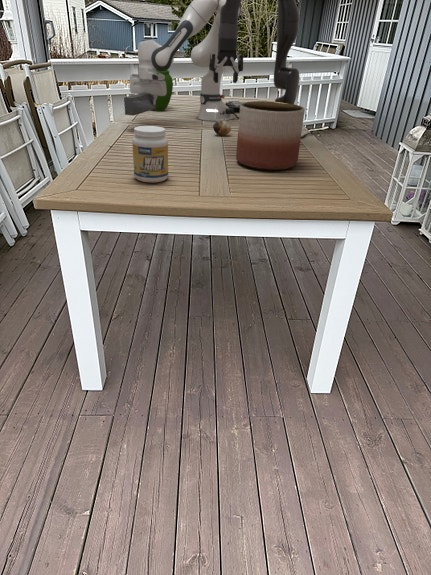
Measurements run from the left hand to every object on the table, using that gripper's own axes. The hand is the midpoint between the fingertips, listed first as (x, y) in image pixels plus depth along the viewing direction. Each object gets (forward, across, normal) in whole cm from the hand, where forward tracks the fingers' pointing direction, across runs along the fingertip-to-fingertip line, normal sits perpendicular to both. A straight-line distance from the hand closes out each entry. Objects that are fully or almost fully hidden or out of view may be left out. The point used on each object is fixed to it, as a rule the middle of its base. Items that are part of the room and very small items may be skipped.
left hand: (148, 103), depth 221 cm
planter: (+11, +76, -47) cm, 90 cm away
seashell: (+11, +44, -5) cm, 45 cm away
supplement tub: (+11, +43, -86) cm, 96 cm away
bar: (+3, 0, -9) cm, 9 cm away
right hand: (-17, +53, -35) cm, 66 cm away
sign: (+11, +28, +83) cm, 88 cm away
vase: (+11, -16, +46) cm, 50 cm away
